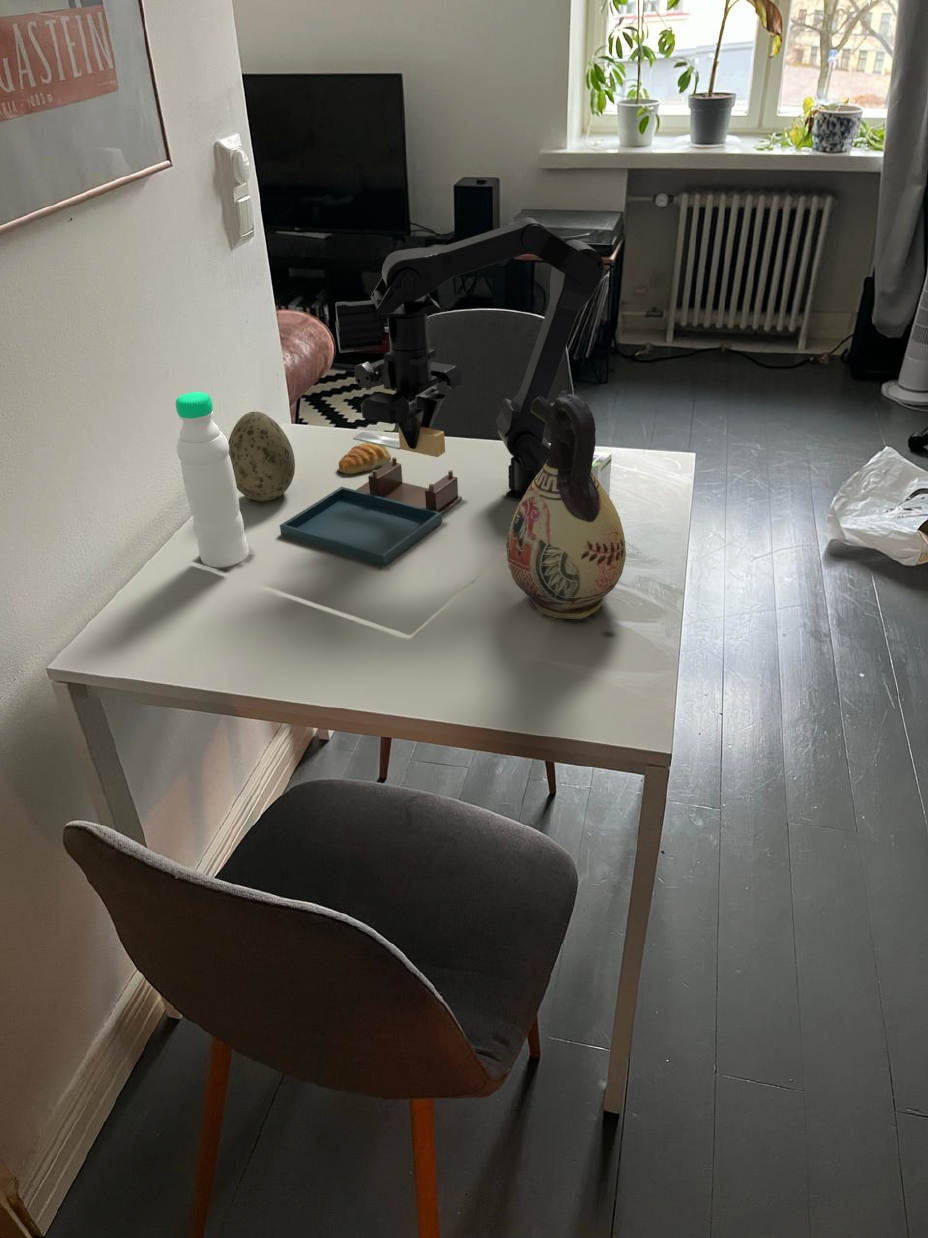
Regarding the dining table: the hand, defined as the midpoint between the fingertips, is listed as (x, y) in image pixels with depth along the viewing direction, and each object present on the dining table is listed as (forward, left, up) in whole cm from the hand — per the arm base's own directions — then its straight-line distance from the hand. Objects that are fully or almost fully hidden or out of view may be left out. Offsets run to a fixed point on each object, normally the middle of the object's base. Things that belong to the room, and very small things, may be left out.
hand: (417, 445), depth 144 cm
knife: (+4, 0, -1) cm, 4 cm away
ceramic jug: (-33, +14, -11) cm, 38 cm away
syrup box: (-28, -1, -11) cm, 30 cm away
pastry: (+18, -9, -11) cm, 22 cm away
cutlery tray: (+4, +11, -11) cm, 16 cm away
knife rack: (+4, -1, -11) cm, 11 cm away
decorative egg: (+25, +9, -11) cm, 29 cm away
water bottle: (+17, +27, -11) cm, 34 cm away
